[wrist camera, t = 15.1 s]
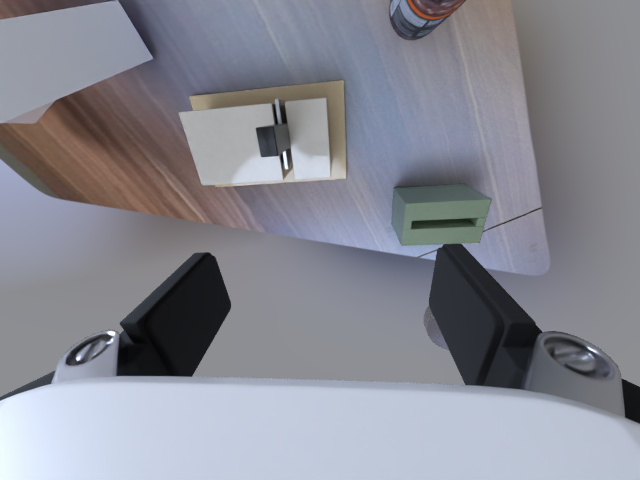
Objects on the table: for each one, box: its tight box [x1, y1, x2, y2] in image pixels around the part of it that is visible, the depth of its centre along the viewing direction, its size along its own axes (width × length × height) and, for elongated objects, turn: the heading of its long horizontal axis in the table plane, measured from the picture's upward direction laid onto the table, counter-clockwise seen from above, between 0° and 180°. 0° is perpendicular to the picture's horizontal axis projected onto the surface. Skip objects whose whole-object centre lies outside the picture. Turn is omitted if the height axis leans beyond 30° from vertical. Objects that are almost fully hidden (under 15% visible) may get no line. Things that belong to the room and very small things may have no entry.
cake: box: [179, 80, 347, 187], centre depth 30 cm, size 12×20×8 cm, turn 95°
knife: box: [256, 98, 293, 169], centre depth 26 cm, size 7×2×13 cm, turn 5°
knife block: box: [392, 184, 492, 246], centre depth 33 cm, size 10×6×7 cm, turn 95°
